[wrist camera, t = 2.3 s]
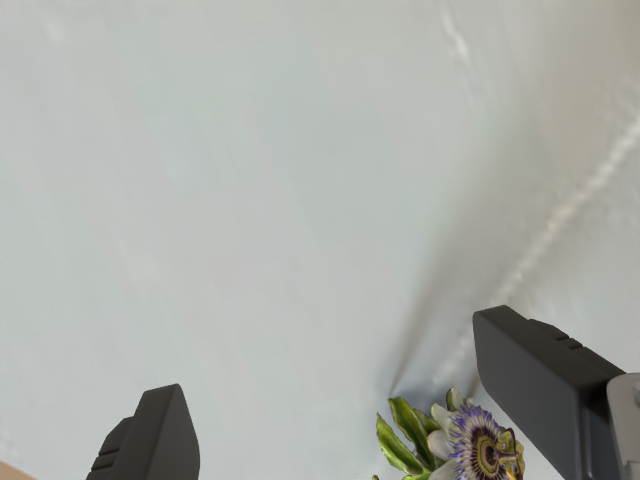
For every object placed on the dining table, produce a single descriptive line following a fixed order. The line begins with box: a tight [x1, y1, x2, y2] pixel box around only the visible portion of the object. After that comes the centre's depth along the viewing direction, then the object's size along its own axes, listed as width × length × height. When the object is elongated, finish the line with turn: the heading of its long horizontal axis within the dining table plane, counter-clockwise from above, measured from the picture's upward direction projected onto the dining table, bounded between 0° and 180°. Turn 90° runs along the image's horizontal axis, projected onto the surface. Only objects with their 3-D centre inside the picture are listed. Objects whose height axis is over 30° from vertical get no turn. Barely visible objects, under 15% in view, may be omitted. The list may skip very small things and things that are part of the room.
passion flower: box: [372, 387, 525, 480], centre depth 40 cm, size 11×11×12 cm
